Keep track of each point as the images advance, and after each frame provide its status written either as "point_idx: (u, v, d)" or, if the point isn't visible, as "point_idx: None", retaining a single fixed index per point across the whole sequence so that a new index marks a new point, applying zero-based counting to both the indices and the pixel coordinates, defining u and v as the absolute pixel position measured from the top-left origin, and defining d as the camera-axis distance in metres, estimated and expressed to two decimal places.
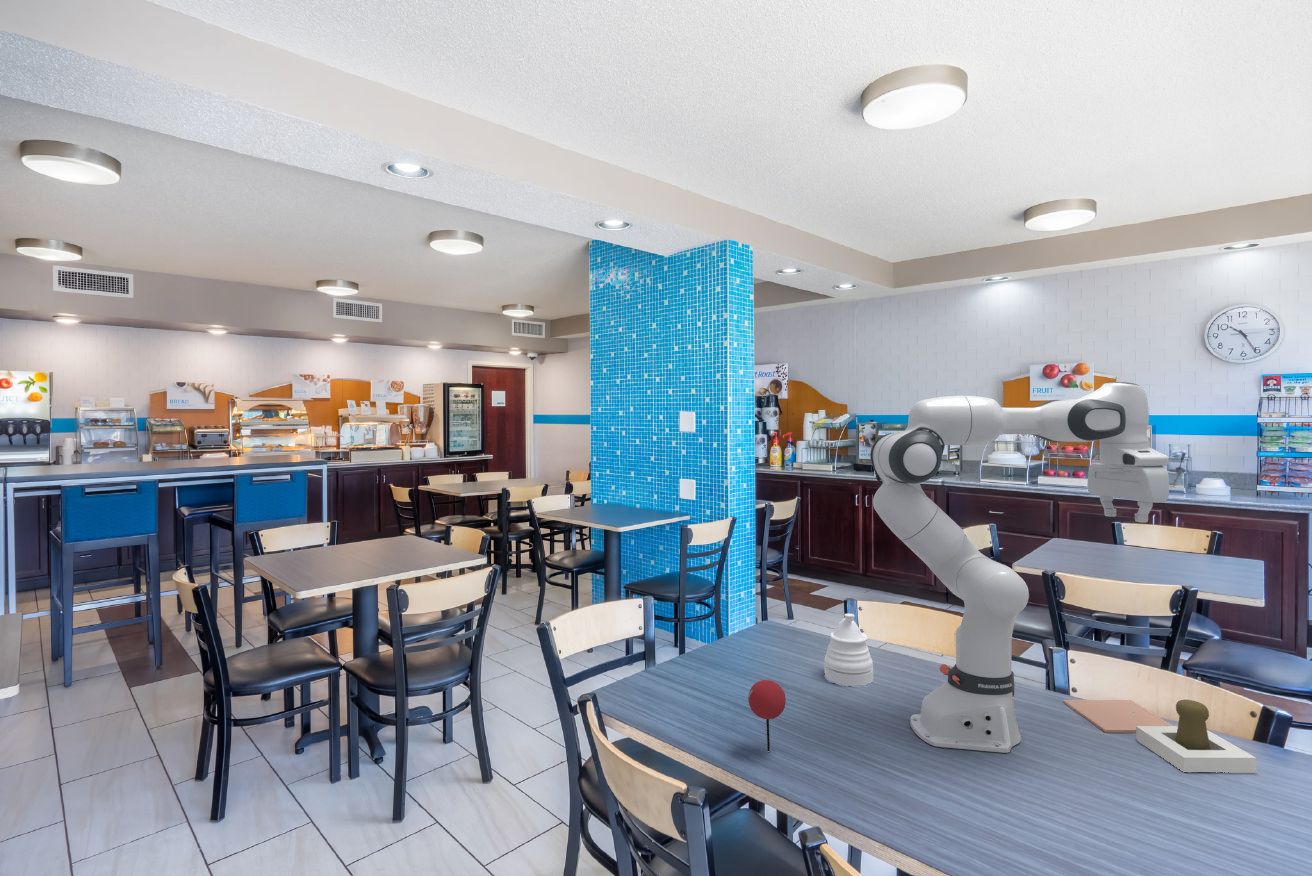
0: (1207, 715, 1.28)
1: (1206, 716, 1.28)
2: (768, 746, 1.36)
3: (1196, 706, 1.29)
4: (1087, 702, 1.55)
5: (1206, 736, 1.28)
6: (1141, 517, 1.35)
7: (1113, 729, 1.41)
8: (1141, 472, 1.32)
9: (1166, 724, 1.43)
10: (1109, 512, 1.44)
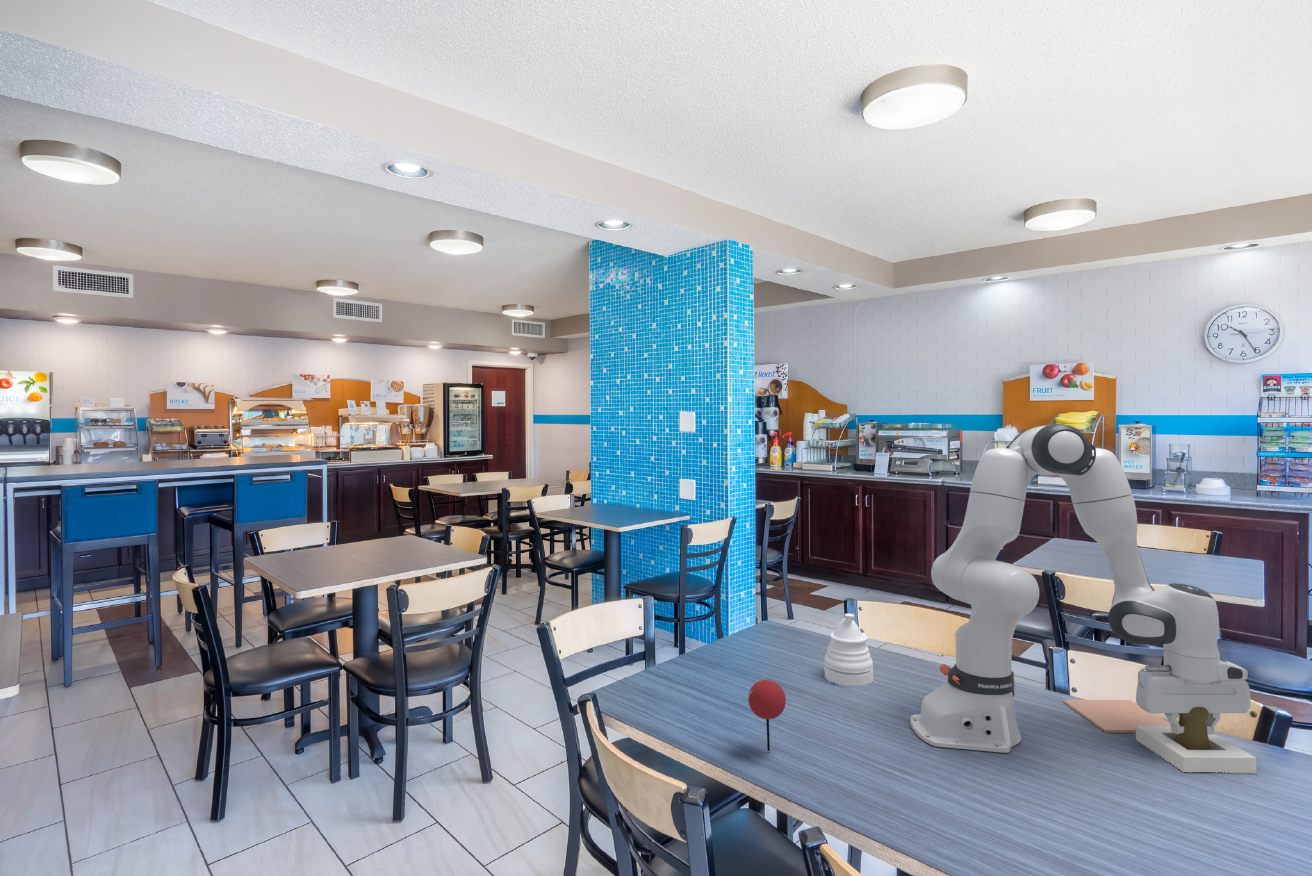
0: (1207, 715, 1.28)
1: (1206, 716, 1.28)
2: (768, 746, 1.36)
3: None
4: (1087, 702, 1.55)
5: (1206, 736, 1.28)
6: None
7: (1113, 729, 1.41)
8: (1245, 685, 1.27)
9: (1166, 724, 1.43)
10: None
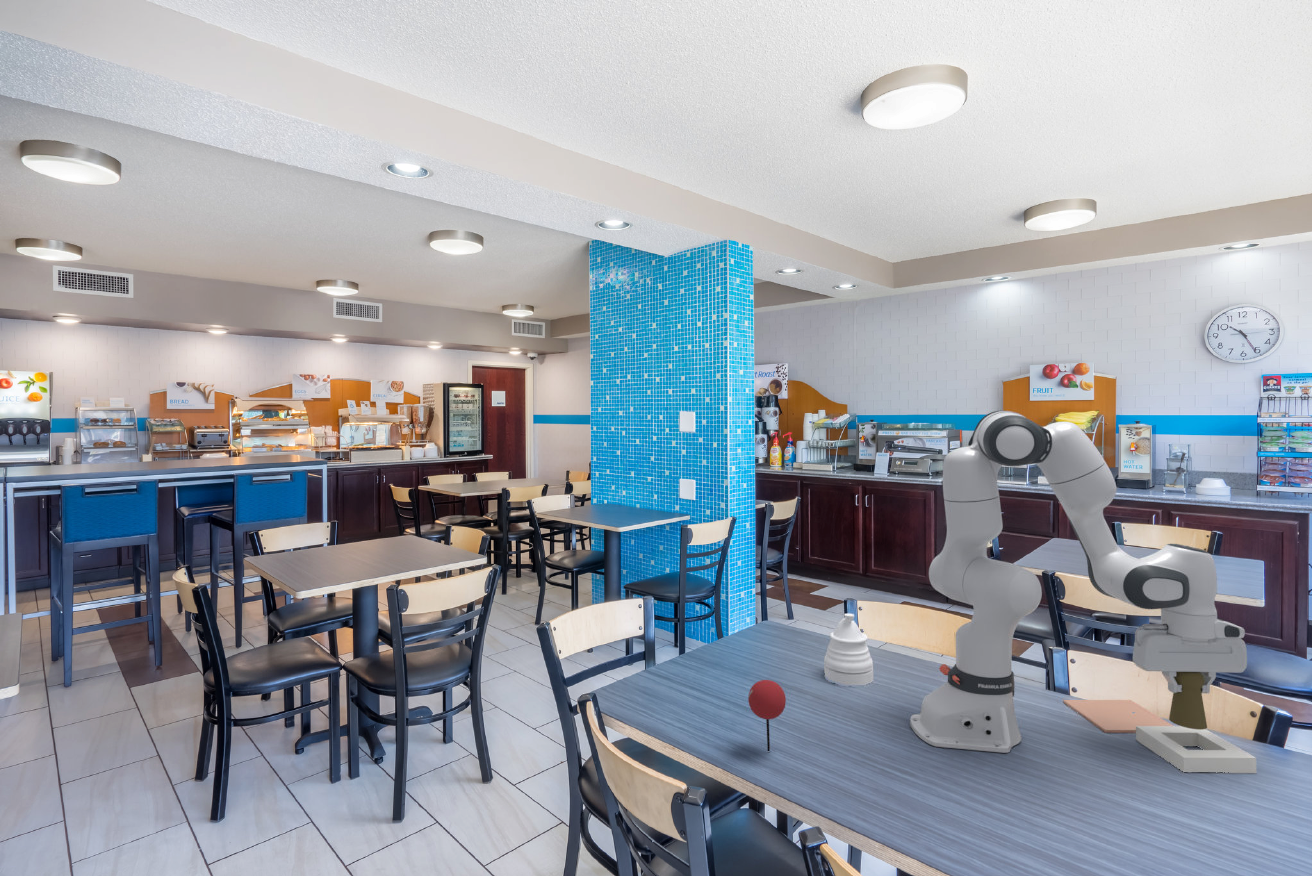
0: (1202, 681, 1.28)
1: (1201, 682, 1.28)
2: (768, 746, 1.36)
3: (1192, 673, 1.29)
4: (1087, 702, 1.55)
5: (1201, 702, 1.29)
6: None
7: (1113, 729, 1.41)
8: (1242, 644, 1.28)
9: (1166, 724, 1.43)
10: None
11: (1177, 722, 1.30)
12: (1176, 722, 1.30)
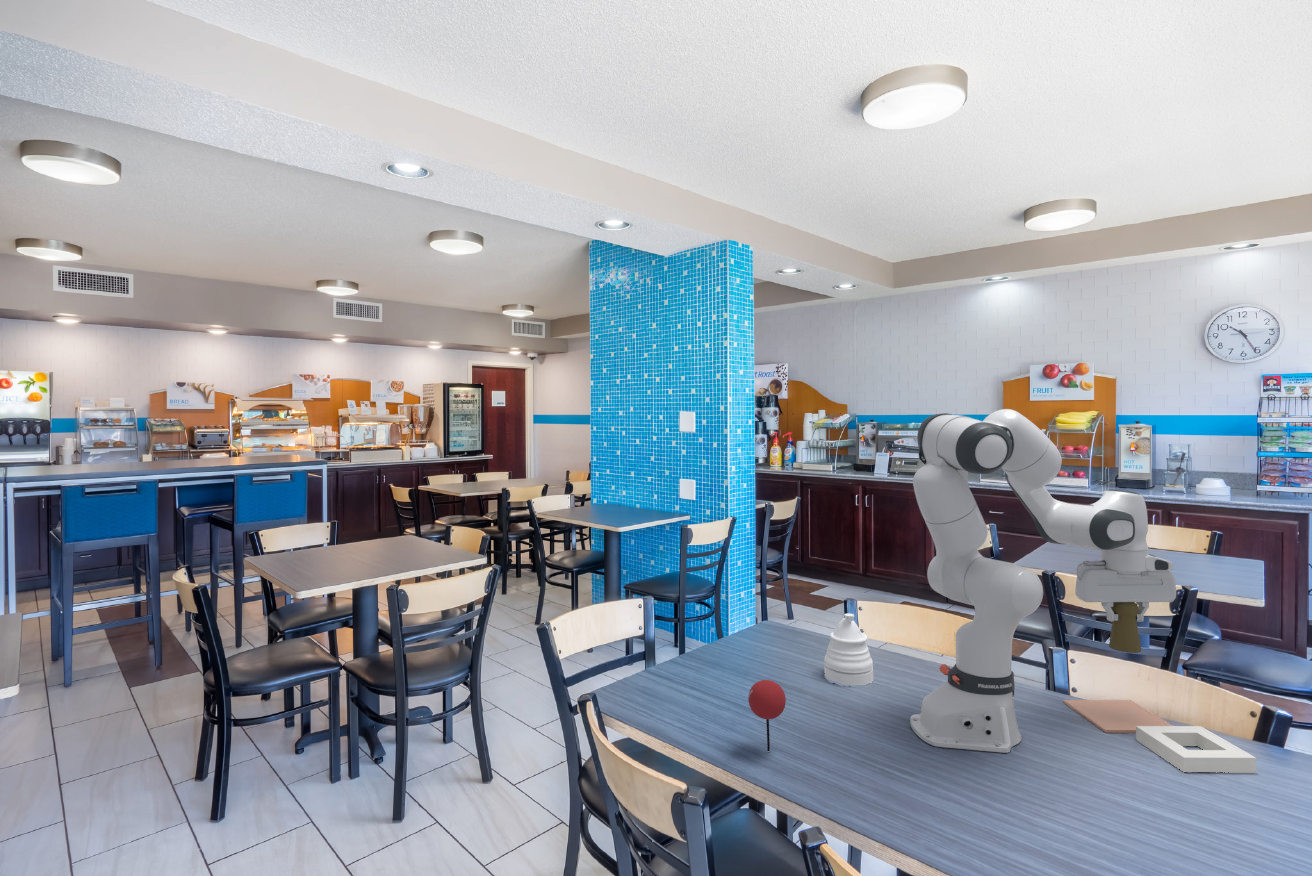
0: (1136, 610, 1.44)
1: (1135, 611, 1.44)
2: (768, 746, 1.36)
3: (1127, 603, 1.45)
4: (1087, 702, 1.55)
5: (1135, 629, 1.44)
6: None
7: (1113, 729, 1.41)
8: (1171, 576, 1.43)
9: (1166, 724, 1.43)
10: None
11: (1115, 647, 1.45)
12: (1114, 647, 1.46)
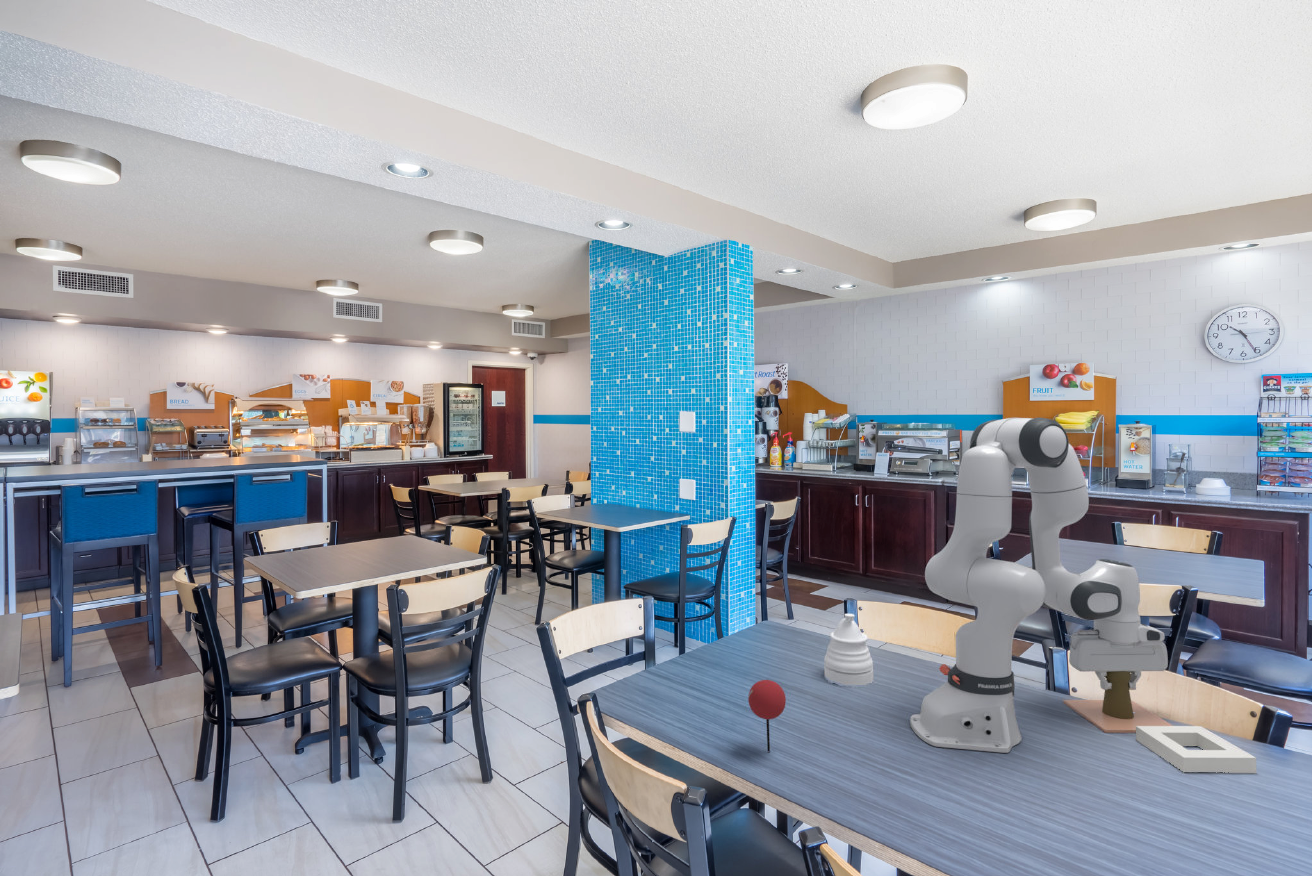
0: (1129, 677, 1.47)
1: (1128, 678, 1.46)
2: (768, 746, 1.36)
3: None
4: (1087, 702, 1.55)
5: (1128, 696, 1.47)
6: None
7: (1113, 729, 1.41)
8: (1162, 646, 1.46)
9: (1166, 724, 1.43)
10: None
11: (1108, 713, 1.48)
12: (1107, 713, 1.48)
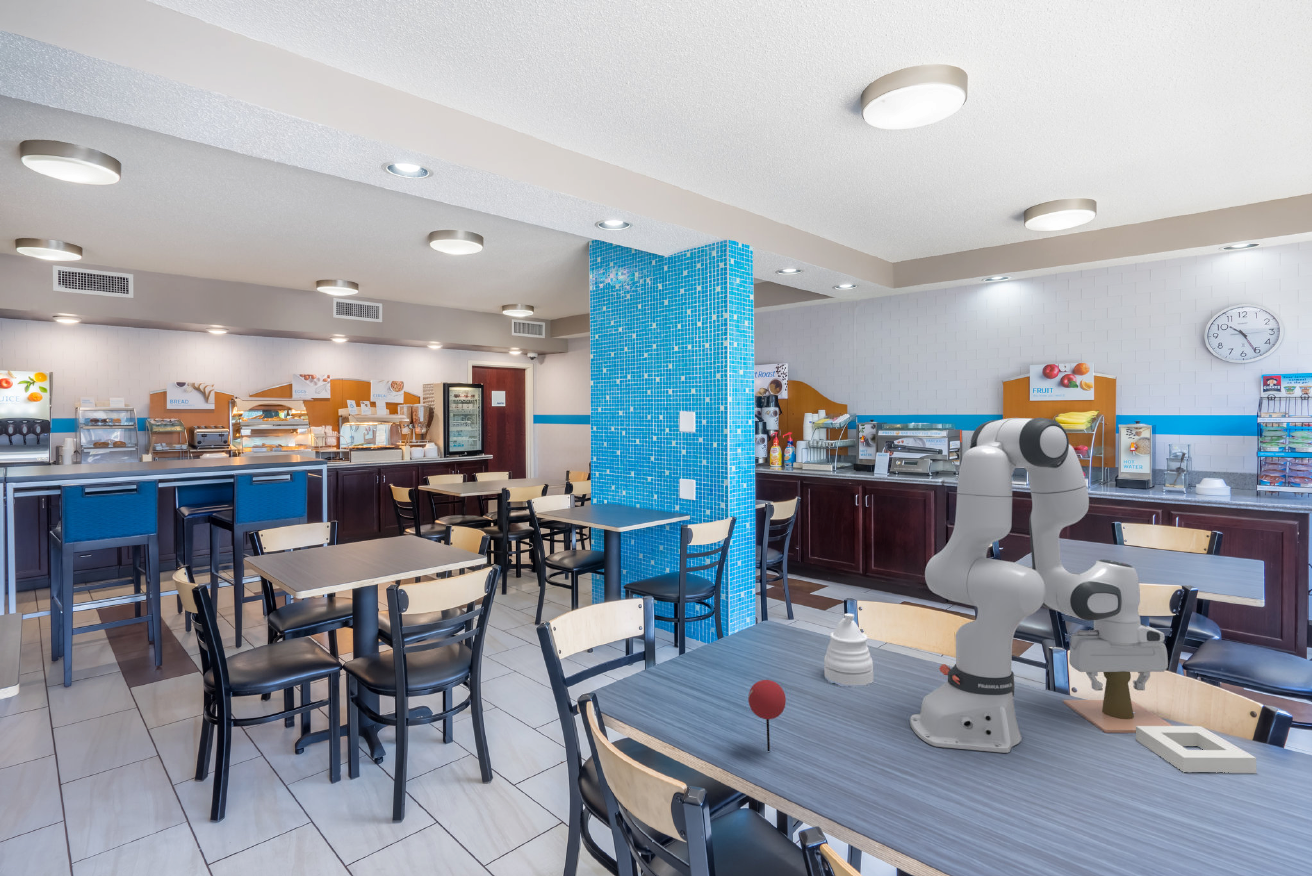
0: (1129, 677, 1.47)
1: (1128, 678, 1.46)
2: (768, 746, 1.36)
3: None
4: (1087, 702, 1.55)
5: (1128, 696, 1.47)
6: None
7: (1113, 729, 1.41)
8: (1162, 647, 1.46)
9: (1166, 724, 1.43)
10: None
11: (1108, 713, 1.48)
12: (1107, 713, 1.48)
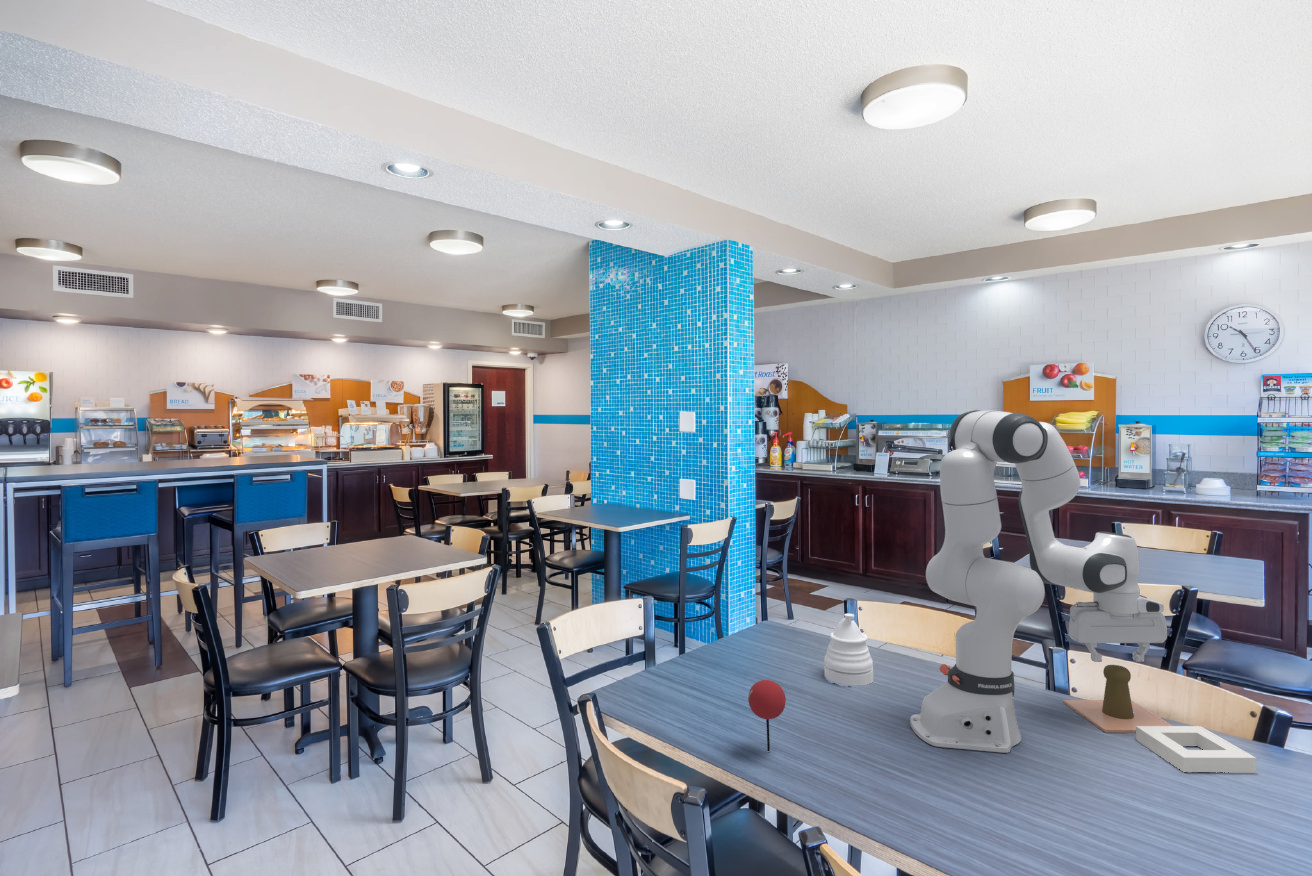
0: (1129, 677, 1.47)
1: (1128, 678, 1.46)
2: (768, 746, 1.36)
3: (1119, 670, 1.47)
4: (1087, 702, 1.55)
5: (1128, 696, 1.47)
6: None
7: (1113, 729, 1.41)
8: (1162, 617, 1.45)
9: (1166, 724, 1.43)
10: None
11: (1108, 713, 1.48)
12: (1107, 713, 1.48)
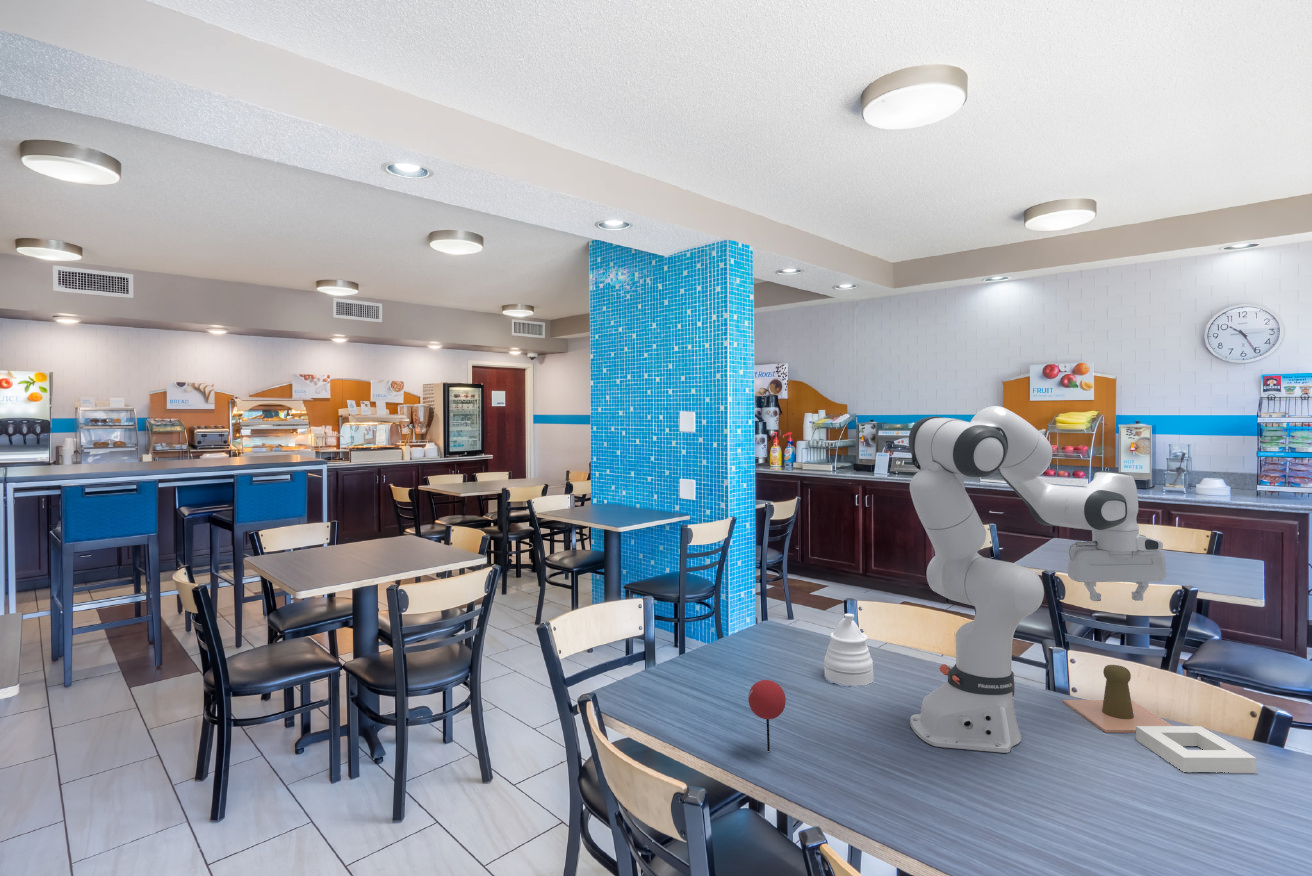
0: (1129, 677, 1.47)
1: (1128, 678, 1.46)
2: (768, 746, 1.36)
3: (1119, 670, 1.47)
4: (1087, 702, 1.55)
5: (1128, 696, 1.47)
6: None
7: (1113, 729, 1.41)
8: (1161, 555, 1.45)
9: (1166, 724, 1.43)
10: None
11: (1108, 713, 1.48)
12: (1107, 713, 1.48)
